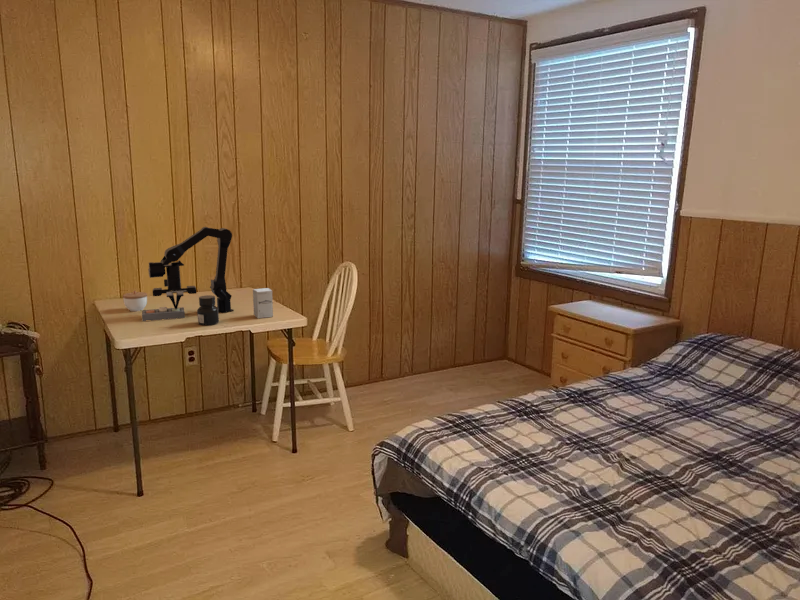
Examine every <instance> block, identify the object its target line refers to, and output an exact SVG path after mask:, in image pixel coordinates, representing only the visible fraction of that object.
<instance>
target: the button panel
mask: <svg viewBox="0 0 800 600" xmlns="http://www.w3.org/2000/svg"><path fill="white" fill-rule="evenodd" d="M179 308H180V311H172V309H174V307H170V308H168V307H167V310H168V312H159V308H155V309H153V308H152V309H151V310H155V313H146V311H148V310H149V309H143V310H142V311H141V320H142V322H147V321H146V320H151V321H162V319H164V320H175V319H176V318H177V319H185V318H186V317H185V307H184V306H181V307H179ZM177 319H176V320H177Z"/></svg>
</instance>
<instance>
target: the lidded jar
mask: <svg viewBox="0 0 800 600" xmlns="http://www.w3.org/2000/svg"><path fill="white" fill-rule="evenodd" d="M122 298H123V303H124V306H125V308H126V309H128V311H129V310H130V311H129V312H141V311H140V310H145V308H146V306H147V303H148V293H147V292H143V291H137V290H133V292H126V293H124V294H122Z"/></svg>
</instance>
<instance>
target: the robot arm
mask: <svg viewBox="0 0 800 600" xmlns="http://www.w3.org/2000/svg"><path fill="white" fill-rule="evenodd" d="M207 237H211V238H216V241H217V248H218V249H217V257H216V266H215V267H216V269H215V276H214V279H210V287H209V289H211V290H210V291H211V293H212V294H214V296H215V297H216V307H217V308H218V313H221V314H223V313H224V314H225V313H229V311H230V312H234V310H235V309H233V308H232V306H231V305H232V304H231V303H232V302H231V299H232V297H233V296H232V295H231V293H230V292H228V291H227V283H226V271H227V270H226V268H227V258H228V251H229V250H228V249H229V246H230V244H231V242H232V237H233V232H232V231H231V229H227V228H224V227H221V228H219V229H218V228H215V227H214V228H213V227H212V228H211V227H207V226H203V227H202V228H200V229H199V230H198V231H196V232H195V233H193V234H191V235H190V236H189V237H188V238H186V239H184V240H183V241H182V242H180V243H177V244H175V245H173V246H172V245H171V247H168V248H166V249H165V251H164V255H163V257H162V258H161V260H160V261H159V262H158V261H157V262H152V261H151V262H148V269H147V270H148V277H149V279H150V278H161V277H162V278H163V277H164V276H165V275H166V279H163V284H164V285H163V286H164V288H165V287H167V288H165V289H163V288H162V287H154V288H152V297H161V296H162V295H163V294H165V295H166V298H169V300H170V301H171V303H172V305H173V308H175V309H177V308H179V303H180V300H181V298H182V297H184V293H188V294H189V295H194V294H197V287H196V286H195V285H187V286H186V287H183V288H182V282H181V281H182V280H181V270H180V269H181V268H180V267H184V266H185V263H183V262H181V260H180V259H181V257H182V256H183V255H184V254H185V253H186V252H187V251H188V250H190V249H191V248H192V247H194V246H195V245H197V244H198V243H199V242H201V241H202V240H204V239H206V238H207ZM174 294H176V297H175V296H174ZM175 298H176V300H175Z"/></svg>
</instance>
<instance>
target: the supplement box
mask: <svg viewBox="0 0 800 600" xmlns="http://www.w3.org/2000/svg"><path fill="white" fill-rule="evenodd" d="M252 301H253V302H252V303H253V306H252V307H253V316H254V315H255V316H254V317H255V318H257V319H263V318H273V317H274V313H273V312H274V310H273V309H274V308H273V307H274V305H273V303H274V302H273V290H272V289H271V288H269V287H266V288H265V287H263V288H253V289H252ZM272 316H273V317H272Z"/></svg>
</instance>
